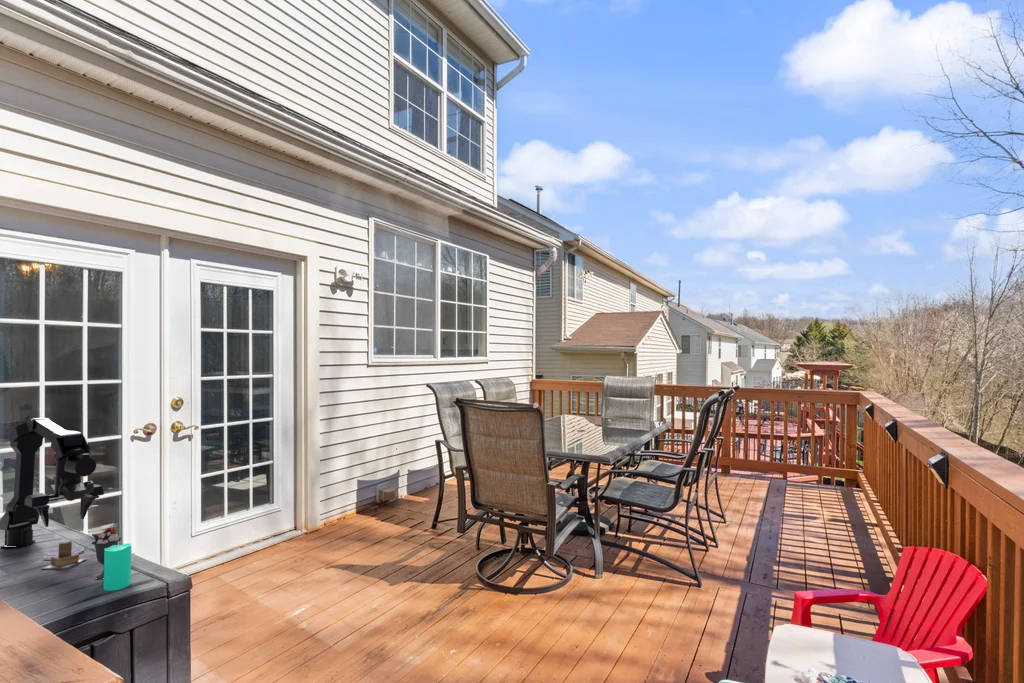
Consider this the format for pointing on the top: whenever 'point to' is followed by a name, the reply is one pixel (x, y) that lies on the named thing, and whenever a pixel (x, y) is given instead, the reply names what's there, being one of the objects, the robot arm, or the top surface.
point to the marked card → (63, 566)
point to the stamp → (65, 555)
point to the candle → (117, 567)
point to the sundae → (105, 544)
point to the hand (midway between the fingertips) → (64, 522)
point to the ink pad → (48, 557)
